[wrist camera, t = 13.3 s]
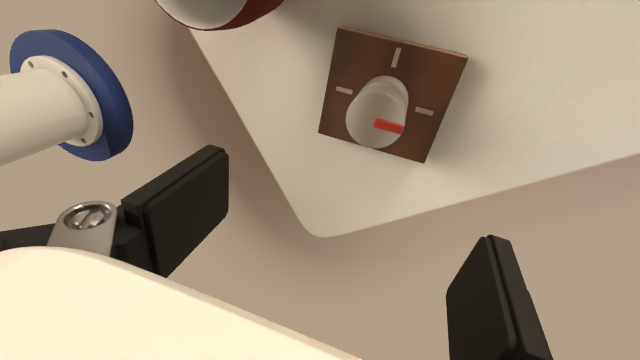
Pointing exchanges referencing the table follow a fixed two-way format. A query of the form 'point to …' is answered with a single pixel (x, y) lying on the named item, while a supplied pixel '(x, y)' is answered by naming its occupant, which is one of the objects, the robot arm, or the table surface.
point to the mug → (217, 12)
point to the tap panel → (403, 64)
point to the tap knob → (378, 112)
